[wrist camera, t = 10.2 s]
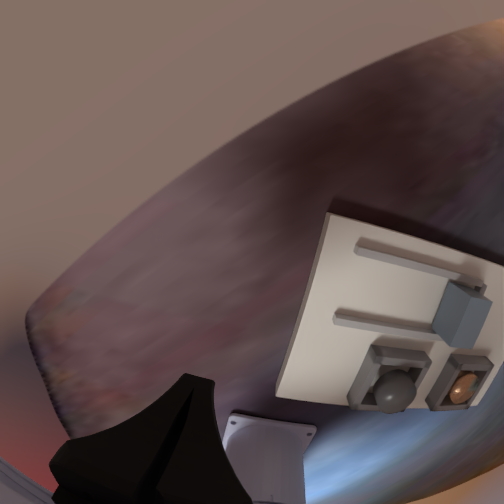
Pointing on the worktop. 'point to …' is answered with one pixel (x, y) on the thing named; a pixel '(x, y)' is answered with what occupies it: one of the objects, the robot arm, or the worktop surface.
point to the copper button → (463, 386)
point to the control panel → (386, 319)
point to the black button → (394, 391)
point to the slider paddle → (461, 316)
